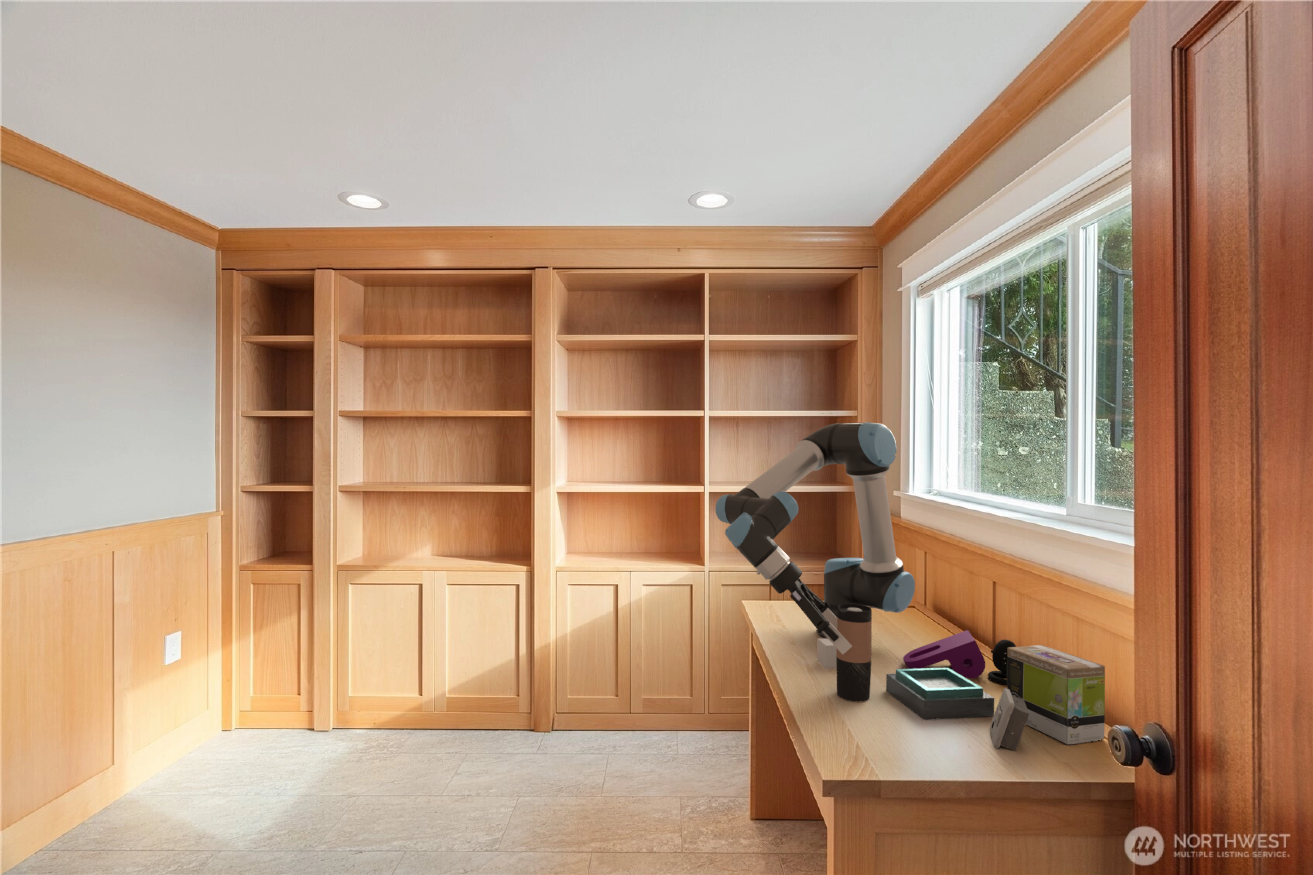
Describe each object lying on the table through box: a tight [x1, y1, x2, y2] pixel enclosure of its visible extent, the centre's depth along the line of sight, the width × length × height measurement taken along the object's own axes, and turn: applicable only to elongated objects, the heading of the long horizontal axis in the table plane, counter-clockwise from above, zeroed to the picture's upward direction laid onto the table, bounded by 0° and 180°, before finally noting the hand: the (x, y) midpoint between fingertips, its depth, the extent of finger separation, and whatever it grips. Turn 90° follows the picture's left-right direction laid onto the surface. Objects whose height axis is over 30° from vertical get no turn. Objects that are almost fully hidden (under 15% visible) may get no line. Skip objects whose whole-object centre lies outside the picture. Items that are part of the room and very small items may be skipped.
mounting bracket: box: [902, 629, 986, 679], centre depth 169 cm, size 9×8×18 cm
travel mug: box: [836, 604, 873, 703], centre depth 150 cm, size 8×8×20 cm
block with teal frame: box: [885, 667, 995, 721], centre depth 146 cm, size 16×16×6 cm
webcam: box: [987, 639, 1017, 686], centre depth 161 cm, size 8×8×10 cm
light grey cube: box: [816, 638, 837, 670], centre depth 171 cm, size 6×6×6 cm
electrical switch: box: [989, 687, 1029, 752], centre depth 127 cm, size 9×5×9 cm, turn 158°
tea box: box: [1006, 644, 1106, 745], centre depth 135 cm, size 15×10×15 cm, turn 17°
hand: (845, 641), depth 149 cm, fingers open, 13 cm apart
